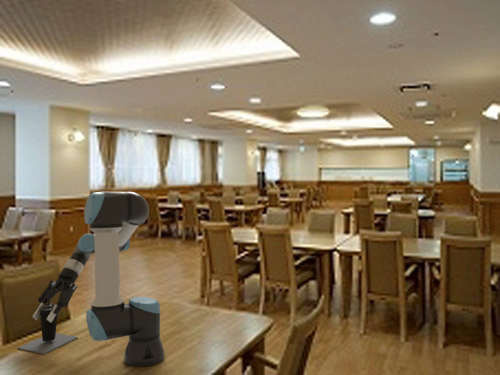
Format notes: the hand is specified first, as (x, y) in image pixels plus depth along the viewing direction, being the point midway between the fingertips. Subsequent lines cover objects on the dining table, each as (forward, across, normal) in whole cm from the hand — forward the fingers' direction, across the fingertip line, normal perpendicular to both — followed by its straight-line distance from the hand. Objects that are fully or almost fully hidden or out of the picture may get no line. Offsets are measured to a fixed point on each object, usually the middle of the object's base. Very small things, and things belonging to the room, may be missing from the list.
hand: (41, 319), depth 176 cm
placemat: (+5, 0, -10) cm, 12 cm away
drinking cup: (+4, 0, -9) cm, 10 cm away
